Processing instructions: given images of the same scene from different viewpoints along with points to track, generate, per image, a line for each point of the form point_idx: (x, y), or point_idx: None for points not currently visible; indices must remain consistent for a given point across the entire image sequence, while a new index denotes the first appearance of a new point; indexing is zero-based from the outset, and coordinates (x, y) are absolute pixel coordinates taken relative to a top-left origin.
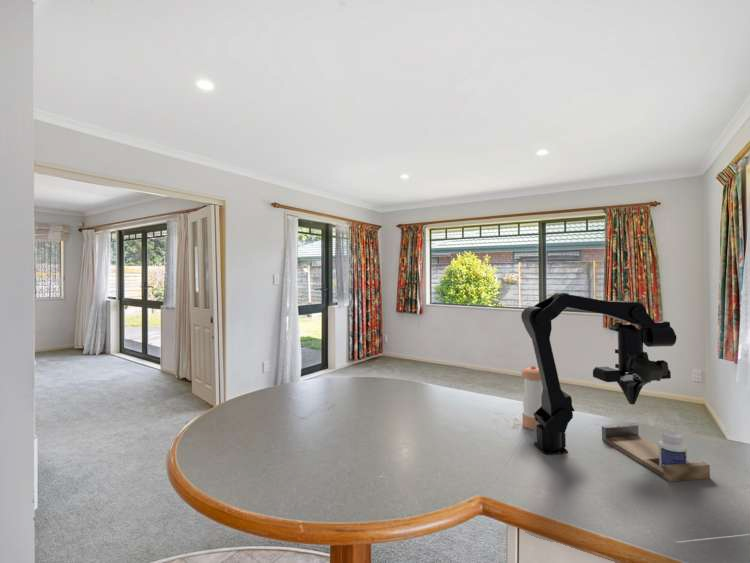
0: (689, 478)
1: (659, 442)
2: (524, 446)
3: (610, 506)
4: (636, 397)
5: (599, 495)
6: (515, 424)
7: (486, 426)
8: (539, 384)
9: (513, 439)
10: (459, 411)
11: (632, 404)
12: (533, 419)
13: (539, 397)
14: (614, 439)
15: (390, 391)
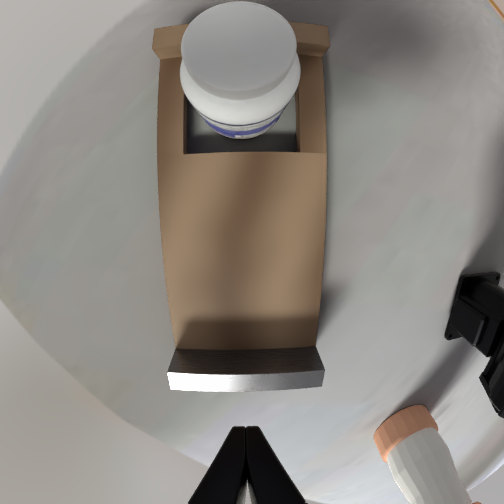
0: None
1: (287, 97)
2: None
3: (486, 48)
4: (219, 470)
5: (491, 80)
6: None
7: (476, 403)
8: (453, 502)
9: None
10: (455, 450)
11: (251, 426)
12: (434, 422)
13: (442, 472)
14: (295, 330)
15: (462, 479)
